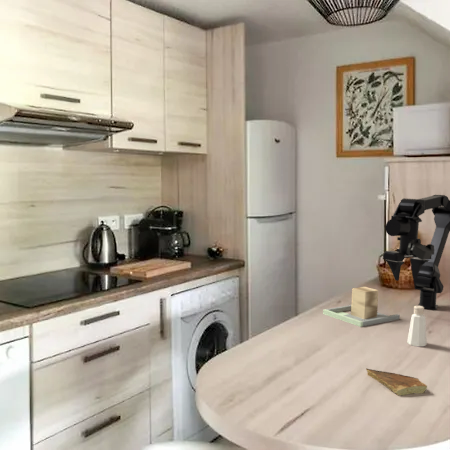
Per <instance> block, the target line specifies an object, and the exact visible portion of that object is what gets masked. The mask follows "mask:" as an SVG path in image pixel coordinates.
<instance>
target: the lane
mask: <svg viewBox="0 0 450 450" xmlns="http://www.w3.org/2000/svg"><path fill="white" fill-rule="evenodd" d="M349 311H350V312H351V304H349V305H343V306H337V307H331V308H326V309H325V308H324V309H322V314H323V315H325V316H328V317H330V318H334V319H336V320H340V321H343V322H345V323H347V324H351V325H354V326H356V327H360V328H362V327H368V326H373V325H377V324H381V323H389V322H391V321H398V320H400V318H401V317H400V314H398V313H397V314H392V315H387V314H385V313H381V312H378V311H377V317H373V318H368V319H362V318H359V317H356V316H353V315H351V313H348V312H349Z"/></svg>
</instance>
